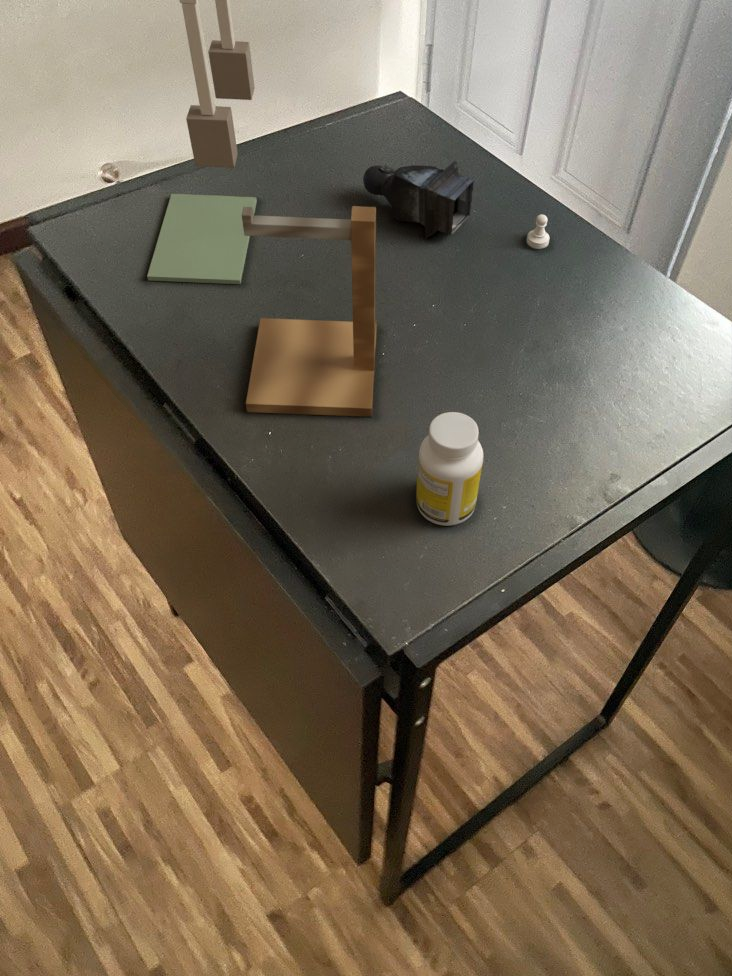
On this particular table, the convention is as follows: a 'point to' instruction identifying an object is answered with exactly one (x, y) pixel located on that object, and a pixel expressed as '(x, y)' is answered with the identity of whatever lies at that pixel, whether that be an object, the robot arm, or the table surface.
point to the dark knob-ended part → (424, 195)
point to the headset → (216, 86)
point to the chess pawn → (539, 234)
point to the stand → (319, 330)
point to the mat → (202, 240)
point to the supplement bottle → (449, 469)
